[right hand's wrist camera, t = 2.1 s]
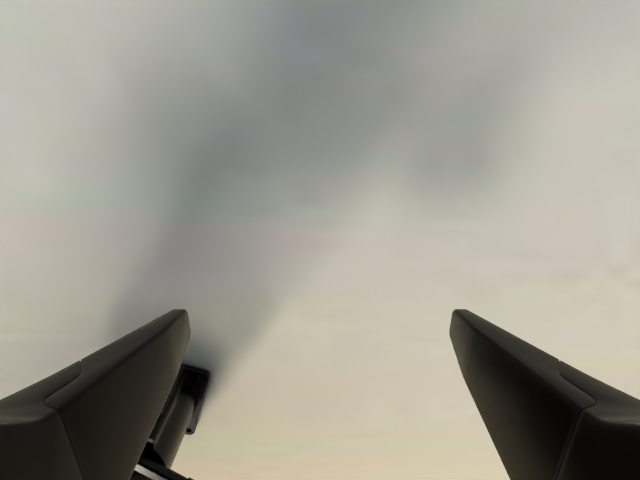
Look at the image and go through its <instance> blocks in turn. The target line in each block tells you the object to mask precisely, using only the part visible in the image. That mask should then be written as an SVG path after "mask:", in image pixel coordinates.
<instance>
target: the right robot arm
mask: <svg viewBox="0 0 640 480" xmlns="http://www.w3.org/2000/svg"><path fill="white" fill-rule="evenodd" d="M189 338H190V324H189V318H188V313H187V311H186V310H184V309H175V310H172V311H170V312H168V313H166V314H164V315H163V316H161V317H159V318H157V319H155V320H153V321H151V322H150V323H148V324H146V325H144V326H142V327H140V328H139V329H137V330H135V331H133V332H131V333H129V334H127V335H126V336H124V337H122V338H120V339H118V340H116V341H115V342H113V343H111V344H109V345H107V346H105V347H104V348H102V349H100V350H98V351H96V352H94V353H92V354H91V355H89V356H87V357H85V358H83V359H82V360H81V361H78V362H76V363H74V364H72V365H70V366H68V367H66V368H65V369H63V370H61V371H59V372H57V373H55V374H53V375H51V376H49V377H47V378H45V379H43V380H41V381H39V382H37V383H35V384H33V385H31V386H29V387H27V388H25V389H22V390H20V391H18V392H16V393H14V394H12V395H10V396H8V397H6V398H4V399H1V400H0V480H193V479H191V478H186V477H184V476H182V475H180V474H178V473H177V472H175V471H173V470H171V469H170V468H171V466H172V464H173V461H174V459H175V456H176V454H177V451H178V449H179V447H180V444H181V442H182V439H183V437H184V434H188V435H190V434H193V433H194V432H195V429H196V426H197V423H198V419H199V415H200V412H201V408H202V405H203V401H204V398H205V394H206V391H207V387H208V383H209V380H210V372H208V371H207V370H204V369H200V368H196V367H193V366H189V365H185V364H181V363H182V360H183V357H184V354H185V350H186V347H187V344H188V341H189ZM450 338H451V341H452V344H453V347H454V350H455V354H456V357H457V360H458V363H459V366H460V369H461V372H462V375H463V377H464V380H465V382H466V384H467V386H468V388H469V391H470V393H471V395H472V397H473V399H474V402H475V404H476V406H477V408H478V410H479V412H480V415H481V417H482V419H483V421H484V423H485V425H486V428H487V430H488V432H489V434H490V436H491V439H492V441H493V443H494V445H495V447H496V449H497V452H498V454H499V456H500V458H501V460H502V462H503V465H504V467H505V469H506V471H507V473H508V476H509V478H510V480H640V400H639V399H636V398H634V397H632V396H630V395H628V394H626V393H624V392H622V391H620V390H618V389H615V388H613V387H611V386H609V385H607V384H605V383H603V382H601V381H599V380H597V379H595V378H593V377H591V376H589V375H587V374H585V373H583V372H581V371H579V370H577V369H575V368H574V367H572V366H570V365H568V364H566V363H564V362H562V361H559V360H558V359H557V358H555V357H553V356H551V355H549V354H548V353H546V352H544V351H542V350H540V349H538V348H537V347H535V346H533V345H531V344H529V343H527V342H525V341H524V340H522V339H520V338H518V337H516V336H514V335H512V334H511V333H509V332H507V331H505V330H503V329H501V328H500V327H498V326H496V325H494V324H492V323H490V322H489V321H487V320H485V319H483V318H481V317H479V316H477V315H476V314H474V313H472V312H470V311H468V310H465V309H456V310H454V311H453V313H452V318H451V324H450ZM202 376H204V377H202Z"/></svg>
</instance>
